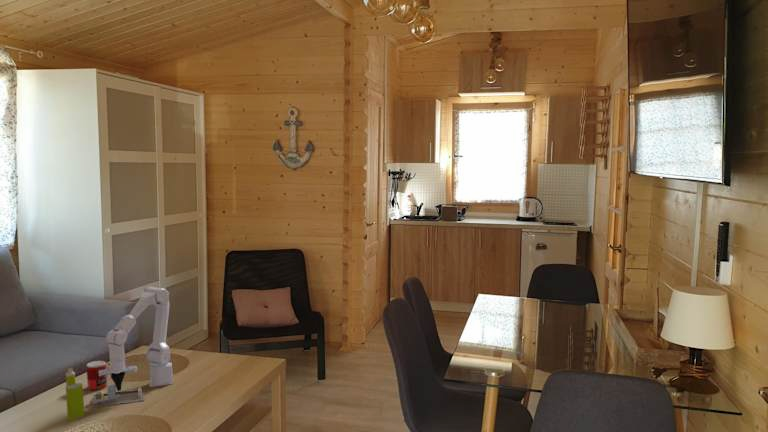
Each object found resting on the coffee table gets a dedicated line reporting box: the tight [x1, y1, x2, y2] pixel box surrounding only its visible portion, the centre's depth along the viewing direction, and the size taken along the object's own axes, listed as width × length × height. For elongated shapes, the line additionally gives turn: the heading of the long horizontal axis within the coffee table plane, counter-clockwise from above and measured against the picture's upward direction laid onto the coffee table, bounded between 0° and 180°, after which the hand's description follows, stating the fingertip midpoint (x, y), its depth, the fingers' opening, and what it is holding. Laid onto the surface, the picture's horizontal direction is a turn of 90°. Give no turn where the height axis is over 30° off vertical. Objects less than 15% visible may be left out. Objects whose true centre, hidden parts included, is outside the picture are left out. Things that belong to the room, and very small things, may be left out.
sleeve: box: [106, 383, 118, 400], centre depth 242 cm, size 3×3×5 cm
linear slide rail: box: [88, 387, 146, 409], centre depth 243 cm, size 21×10×4 cm, turn 109°
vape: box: [65, 367, 85, 421], centre depth 226 cm, size 4×6×20 cm, turn 139°
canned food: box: [86, 360, 108, 391], centre depth 257 cm, size 8×8×11 cm
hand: (119, 389), depth 243 cm, fingers closed
